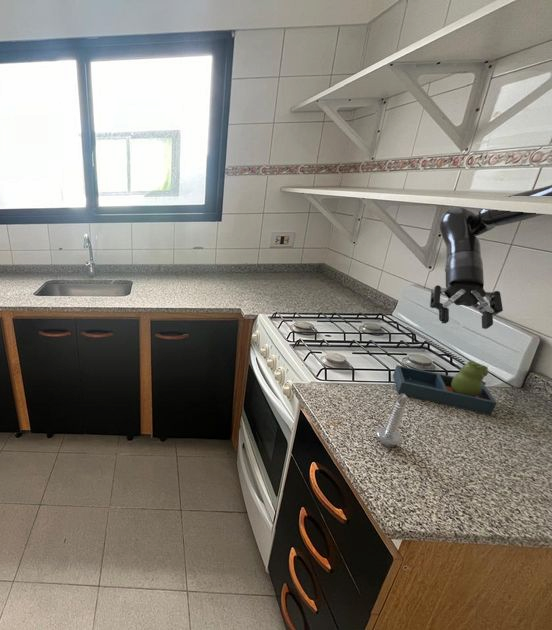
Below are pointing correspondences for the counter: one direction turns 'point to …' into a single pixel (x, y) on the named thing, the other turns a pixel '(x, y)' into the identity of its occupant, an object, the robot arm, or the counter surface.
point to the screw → (393, 425)
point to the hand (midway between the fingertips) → (465, 325)
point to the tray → (440, 390)
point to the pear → (469, 379)
